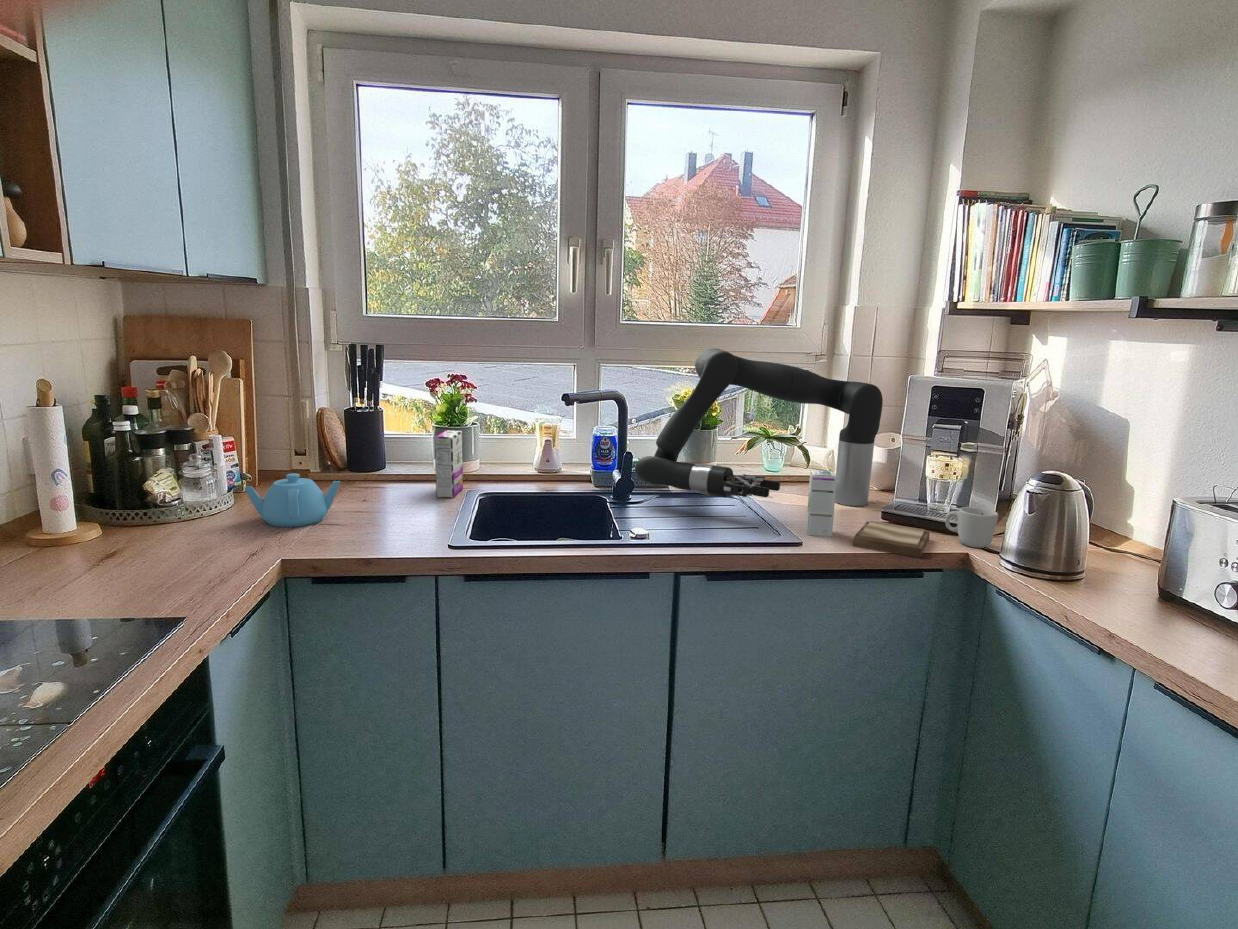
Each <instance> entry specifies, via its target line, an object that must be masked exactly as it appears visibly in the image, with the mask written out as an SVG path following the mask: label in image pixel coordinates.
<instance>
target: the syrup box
mask: <svg viewBox="0 0 1238 929" xmlns="http://www.w3.org/2000/svg"><path fill="white" fill-rule="evenodd" d="M809 473H810V474H809V486H808V497H807V498H808V499H807V508H806V509H807V512H806V524H805V525H806V526H805V529H806V535H807V536H814V537H815V536H816V537H822V538H823V537H825V538H826V537H827V538H832V536H833V529H834V527H833V526H834V518H835V515H834V514H835V505H836V504H835V503H836V502H835V490H836V471H831V470H825V469H823V470H822V469H821V470H820V469H819V470H818V469H817V470H816V469H815V470H814V469H813V470H810V472H809Z"/></svg>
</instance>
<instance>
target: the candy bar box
mask: <svg viewBox="0 0 1238 929" xmlns="http://www.w3.org/2000/svg"><path fill="white" fill-rule="evenodd" d="M434 458H435V459H434V460H435V461H434V462H435V488H436V489H435V490H436V491H435V492H436V494H435V495H436V498H438V499H439V498H440V499H441V498H443V499H449V498H450V499H451V498H452V499H453V498H454V499H455V497H456V496H457V495H458V494H459V493H460V492H461V491H462V490H463V489H464V475H463V474H464V472H463V471H464V470H463V468H464V467H463V465H464V464H463V462H464V461H463V431H462V430H448V429H447V430H444V431H442V432H441V433H439V434H438V435H436V436H434Z"/></svg>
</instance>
